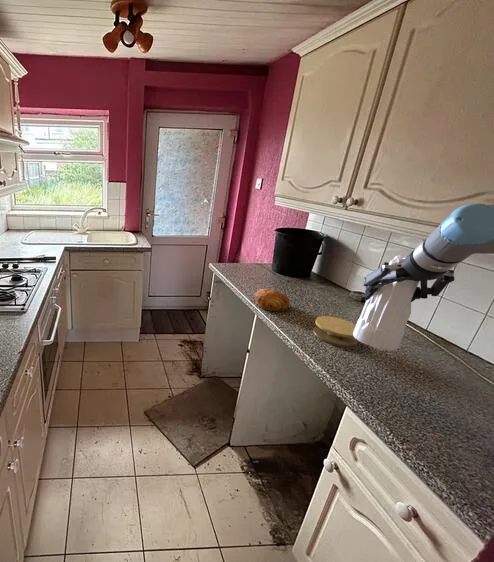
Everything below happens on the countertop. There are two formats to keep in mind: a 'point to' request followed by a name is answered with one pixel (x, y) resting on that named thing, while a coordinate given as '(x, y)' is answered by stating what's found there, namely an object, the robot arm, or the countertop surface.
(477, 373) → the countertop surface
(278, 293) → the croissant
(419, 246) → the robot arm
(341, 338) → the stand
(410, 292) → the decorative vase
